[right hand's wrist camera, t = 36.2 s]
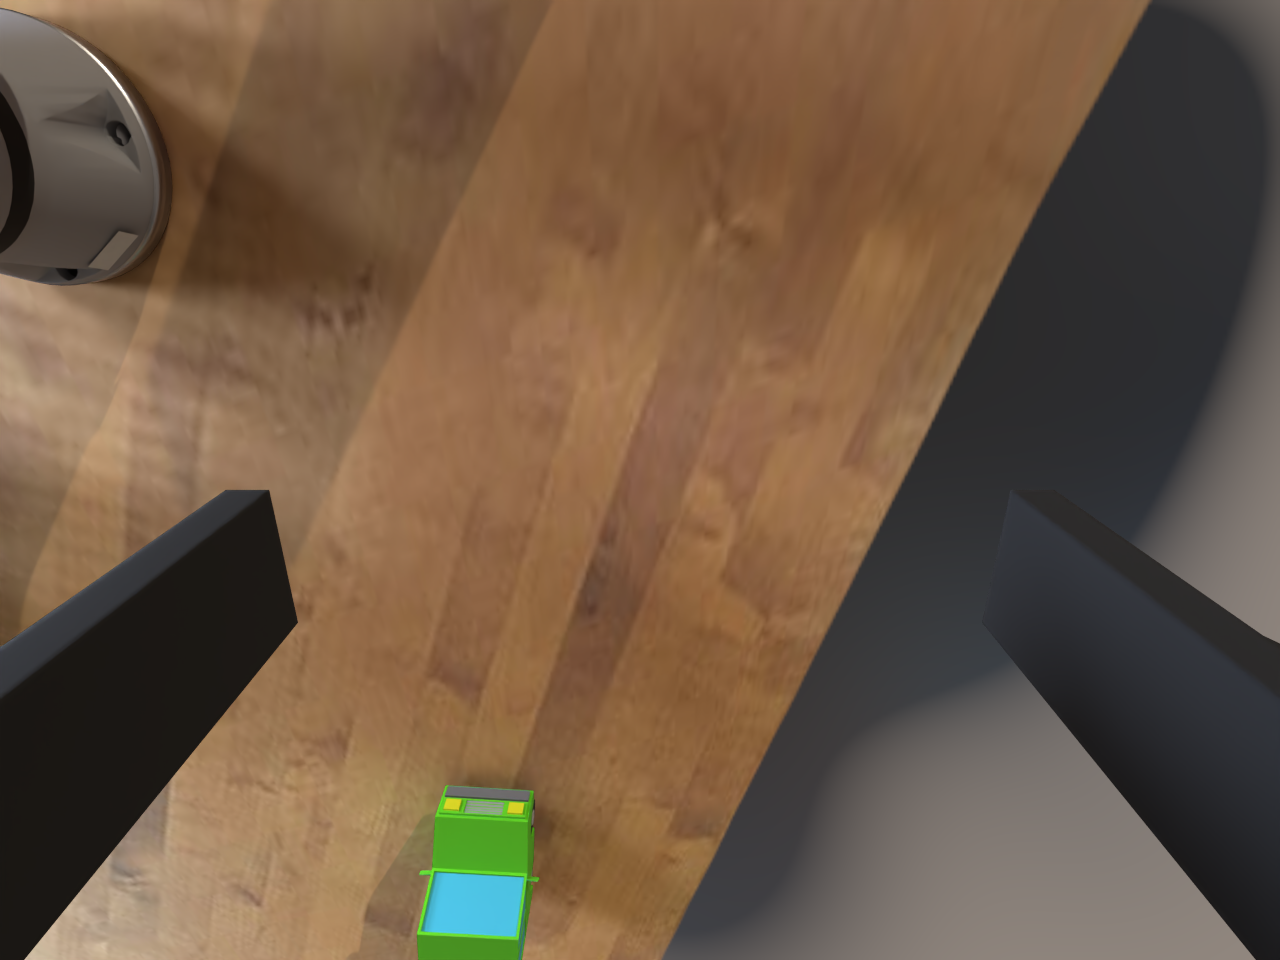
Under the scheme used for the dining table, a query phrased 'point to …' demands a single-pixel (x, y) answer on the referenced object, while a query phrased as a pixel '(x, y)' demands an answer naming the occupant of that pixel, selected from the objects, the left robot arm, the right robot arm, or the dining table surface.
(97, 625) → the right robot arm
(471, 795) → the toy car
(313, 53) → the dining table surface
